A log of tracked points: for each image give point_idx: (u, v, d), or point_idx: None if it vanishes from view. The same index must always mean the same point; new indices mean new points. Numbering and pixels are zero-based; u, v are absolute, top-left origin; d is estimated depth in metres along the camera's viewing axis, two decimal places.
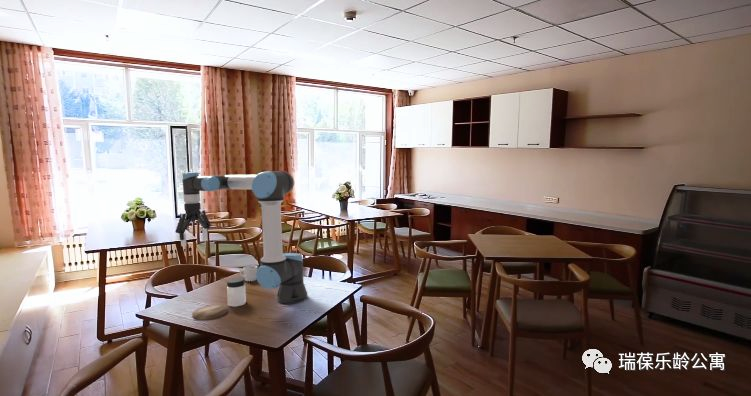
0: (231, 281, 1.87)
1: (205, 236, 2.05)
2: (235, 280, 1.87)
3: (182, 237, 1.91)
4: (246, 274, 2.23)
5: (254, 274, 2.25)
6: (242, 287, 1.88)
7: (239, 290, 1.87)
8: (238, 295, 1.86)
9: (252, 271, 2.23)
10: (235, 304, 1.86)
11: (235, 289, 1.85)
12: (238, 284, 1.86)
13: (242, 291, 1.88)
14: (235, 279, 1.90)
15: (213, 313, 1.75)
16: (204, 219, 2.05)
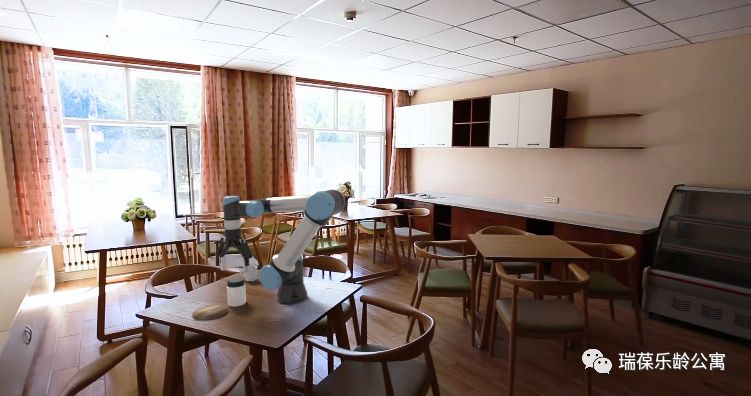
0: (231, 281, 1.87)
1: None
2: (235, 280, 1.87)
3: (220, 260, 1.91)
4: (246, 274, 2.23)
5: (254, 274, 2.25)
6: (242, 287, 1.88)
7: (239, 290, 1.87)
8: (238, 295, 1.86)
9: (252, 271, 2.23)
10: (235, 304, 1.86)
11: (235, 289, 1.85)
12: (238, 284, 1.86)
13: (242, 291, 1.88)
14: (235, 279, 1.90)
15: (213, 313, 1.75)
16: None
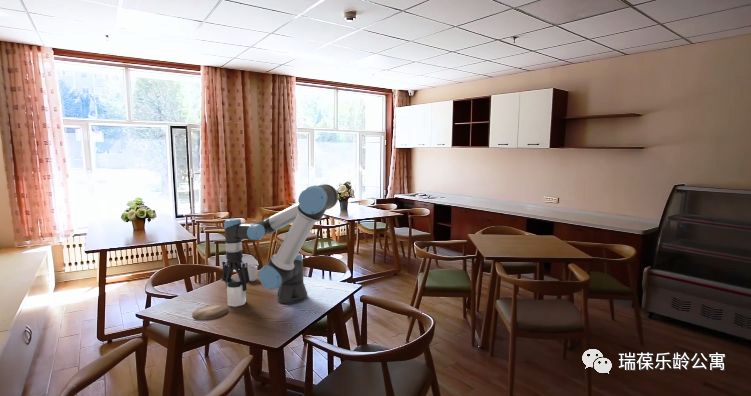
0: (231, 281, 1.87)
1: None
2: (235, 280, 1.87)
3: (226, 286, 1.91)
4: None
5: (254, 274, 2.25)
6: None
7: (239, 290, 1.87)
8: (238, 295, 1.86)
9: (252, 271, 2.23)
10: (235, 304, 1.86)
11: (235, 289, 1.85)
12: (238, 284, 1.86)
13: None
14: (235, 279, 1.90)
15: (213, 313, 1.75)
16: None
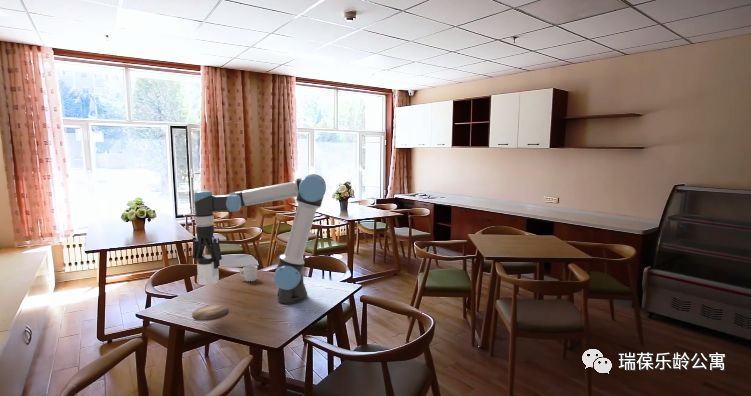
0: (202, 258, 1.74)
1: None
2: (206, 257, 1.74)
3: (197, 263, 1.78)
4: (246, 274, 2.23)
5: (254, 274, 2.25)
6: None
7: (210, 267, 1.73)
8: (209, 273, 1.73)
9: (252, 271, 2.23)
10: (206, 282, 1.73)
11: (206, 266, 1.72)
12: (209, 261, 1.73)
13: None
14: (206, 256, 1.77)
15: (213, 313, 1.75)
16: None
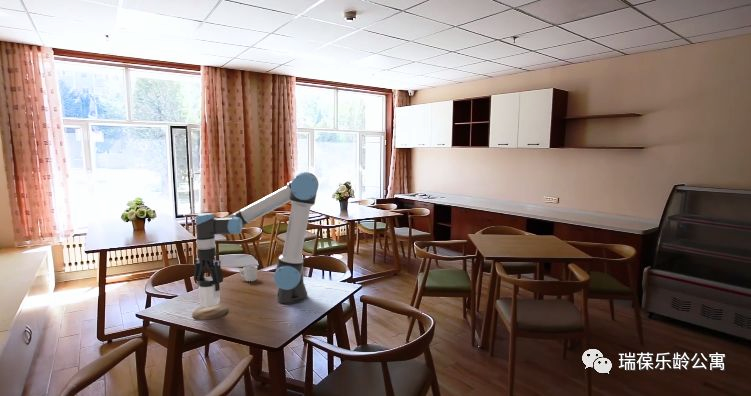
0: (203, 280, 1.75)
1: None
2: (207, 279, 1.75)
3: (198, 285, 1.79)
4: (246, 274, 2.23)
5: (254, 274, 2.25)
6: None
7: (211, 290, 1.74)
8: (210, 295, 1.74)
9: (252, 271, 2.23)
10: (207, 305, 1.74)
11: (207, 289, 1.73)
12: (211, 283, 1.74)
13: None
14: (208, 278, 1.78)
15: (213, 313, 1.75)
16: None
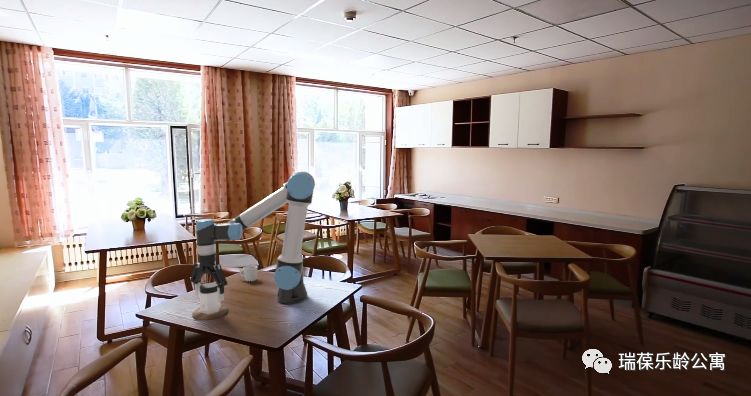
0: (204, 287, 1.75)
1: None
2: (208, 286, 1.76)
3: None
4: (246, 274, 2.23)
5: (254, 274, 2.25)
6: (216, 293, 1.76)
7: (212, 296, 1.75)
8: (211, 302, 1.75)
9: (252, 271, 2.23)
10: (208, 311, 1.74)
11: (208, 295, 1.74)
12: (212, 290, 1.74)
13: (216, 297, 1.76)
14: (209, 284, 1.78)
15: (213, 313, 1.75)
16: None
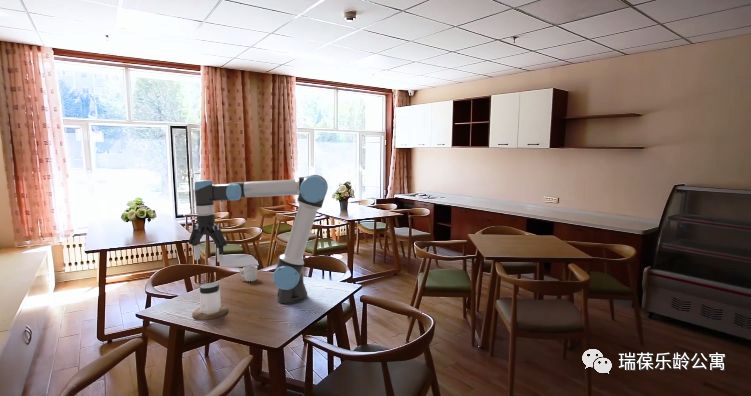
0: (204, 287, 1.75)
1: None
2: (208, 286, 1.76)
3: (193, 249, 1.79)
4: (246, 274, 2.23)
5: (254, 274, 2.25)
6: (216, 293, 1.76)
7: (212, 296, 1.75)
8: (211, 302, 1.75)
9: (252, 271, 2.23)
10: (208, 311, 1.74)
11: (208, 295, 1.74)
12: (212, 290, 1.74)
13: (216, 297, 1.76)
14: (209, 284, 1.78)
15: (213, 313, 1.75)
16: None
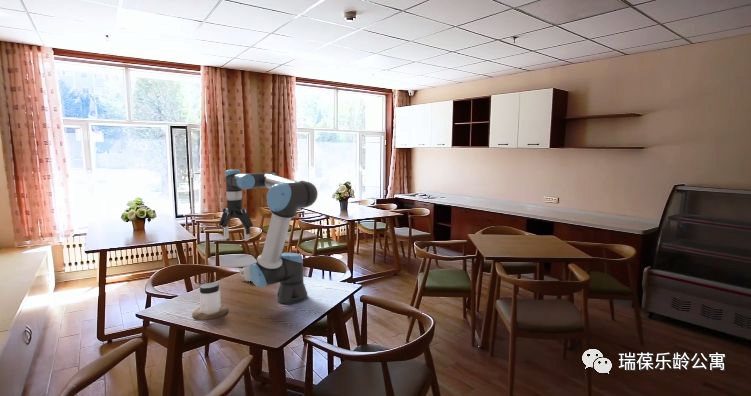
0: (204, 287, 1.75)
1: None
2: (208, 286, 1.76)
3: (223, 230, 2.05)
4: (246, 274, 2.23)
5: None
6: (216, 293, 1.76)
7: (212, 296, 1.75)
8: (211, 302, 1.75)
9: None
10: (208, 311, 1.74)
11: (208, 295, 1.74)
12: (212, 290, 1.74)
13: (216, 297, 1.76)
14: (209, 284, 1.78)
15: (213, 313, 1.75)
16: None
